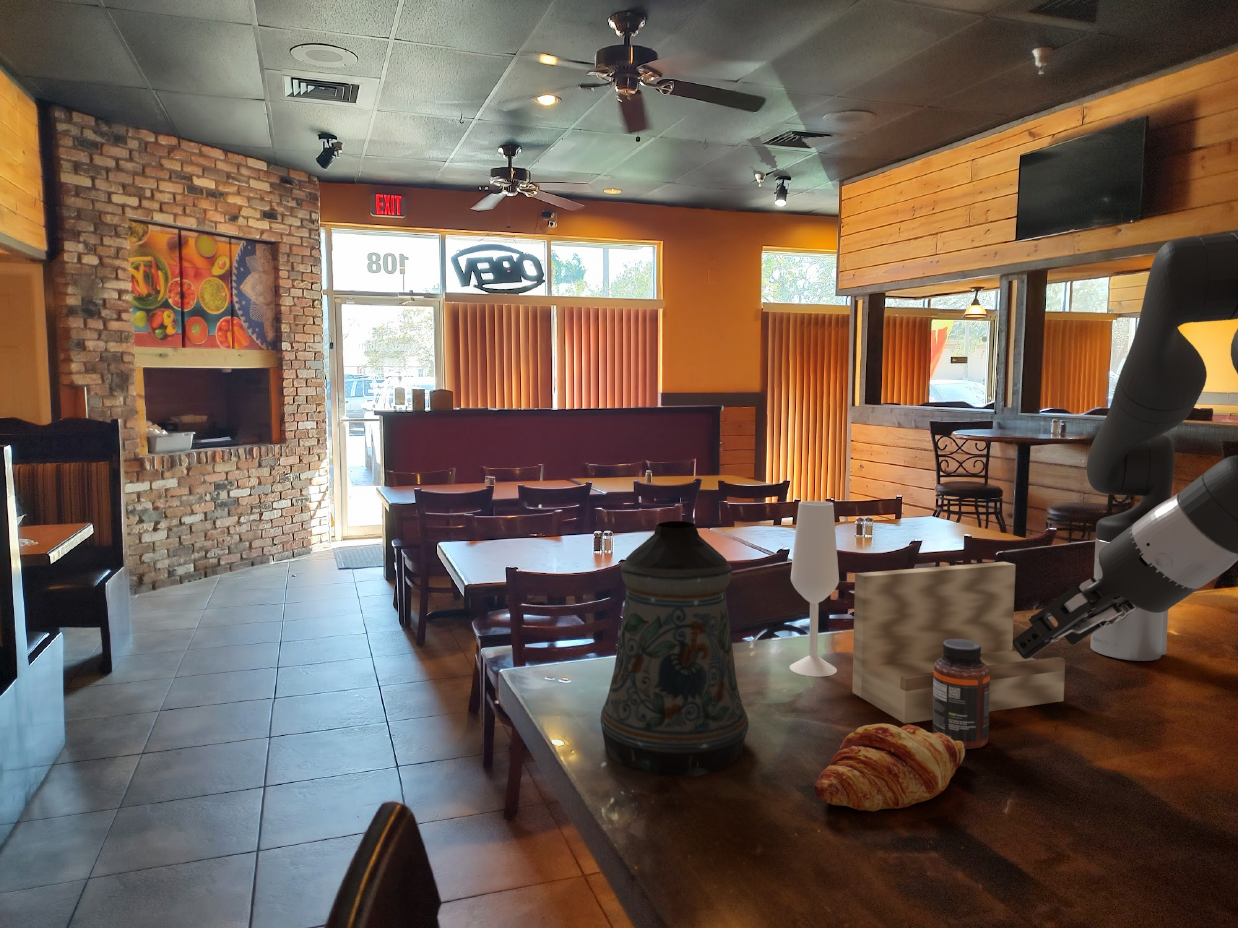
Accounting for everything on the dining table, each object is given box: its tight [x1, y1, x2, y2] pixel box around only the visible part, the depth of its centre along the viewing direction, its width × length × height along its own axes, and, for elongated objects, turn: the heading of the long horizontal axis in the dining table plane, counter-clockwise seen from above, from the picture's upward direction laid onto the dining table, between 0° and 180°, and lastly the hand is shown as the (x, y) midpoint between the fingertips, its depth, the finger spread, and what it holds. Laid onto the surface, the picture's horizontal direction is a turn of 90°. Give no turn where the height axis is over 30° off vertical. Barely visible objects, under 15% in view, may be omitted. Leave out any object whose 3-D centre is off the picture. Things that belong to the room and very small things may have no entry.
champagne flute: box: [789, 500, 840, 677], centre depth 119 cm, size 7×7×24 cm
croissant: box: [813, 723, 966, 812], centre depth 84 cm, size 21×10×8 cm, turn 123°
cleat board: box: [852, 561, 1066, 725], centre depth 108 cm, size 24×11×16 cm, turn 108°
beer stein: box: [600, 520, 750, 777], centre depth 95 cm, size 16×19×25 cm
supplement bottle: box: [932, 639, 990, 750], centre depth 95 cm, size 6×6×11 cm
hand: (1043, 643), depth 87 cm, fingers open, 8 cm apart
